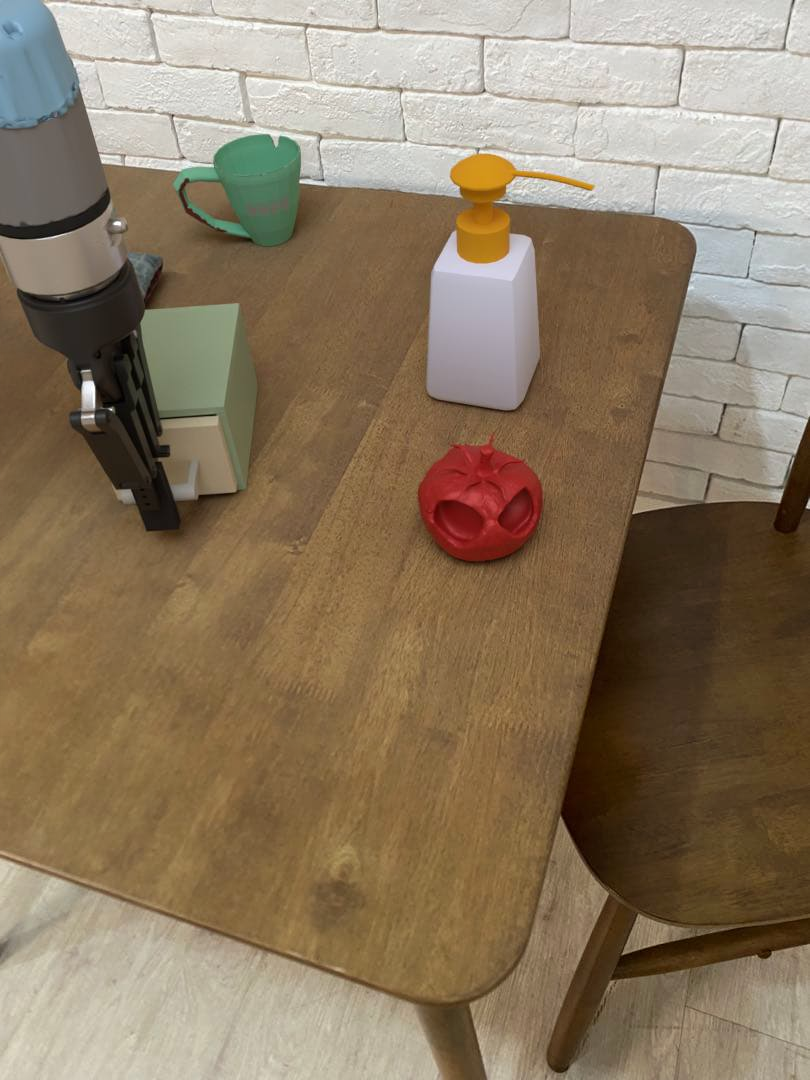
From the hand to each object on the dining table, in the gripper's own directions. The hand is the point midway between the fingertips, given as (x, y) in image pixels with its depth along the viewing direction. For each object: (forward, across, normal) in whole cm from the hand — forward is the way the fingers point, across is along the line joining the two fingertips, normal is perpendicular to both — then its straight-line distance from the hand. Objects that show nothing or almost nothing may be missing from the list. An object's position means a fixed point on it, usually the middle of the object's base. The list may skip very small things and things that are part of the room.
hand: (164, 525), depth 77 cm
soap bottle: (+2, +18, -30) cm, 35 cm away
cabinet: (+2, +13, 0) cm, 13 cm away
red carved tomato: (+3, 0, -26) cm, 26 cm away
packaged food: (+2, +36, +11) cm, 38 cm away
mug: (+1, +48, -3) cm, 48 cm away
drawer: (+1, +9, 0) cm, 10 cm away
